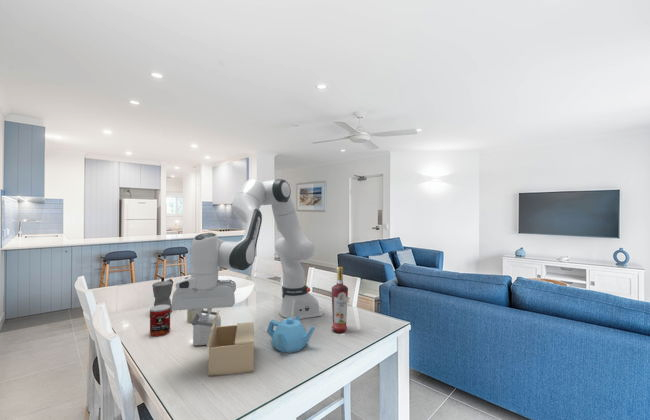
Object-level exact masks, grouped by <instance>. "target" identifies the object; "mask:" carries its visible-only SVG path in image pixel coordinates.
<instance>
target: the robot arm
mask: <svg viewBox="0 0 650 420" xmlns="http://www.w3.org/2000/svg"><path fill="white" fill-rule="evenodd" d="M291 192H292V191H291V185H290V184H289V183H288V182H287V180H285V179H281V178H279V179H278V178H277V179H269V180H265V181H260V180H259V179H256V178H249V179H247V180H246V181H245V182H244V183H243V184H242V186H241V187H240V188H239V189H238V192H237V193H236V195H235V197H234V198H233V200H232V203H231V211H232V213H233V214H234V216H235V217H236V218H237V219H238V220H239V221H241V222H244V223H245V224H246V226H245V230H244V233H243V236H242V239H241V240H239V241H229V240H228V241H226V240H222V239H221V238H219V237H218V235H217V234H216V233H213V232H206V233H200V234H197V235H195V236H194V237H193V240H192V243H191V251H190V252H191V253H190V262H191V266H192V267H191V271H190V275H189V276H186V277H183V278H180V279H179V280H177V281H176V282H175V290H174V292H173V294H172V298H171V307H172V311H186V310H189V309H196V313H197V314H198V316H199V317H200V322H202V321H208V320H209V314H210V313H211V311H212V310H213V309H218V308H219V309H220V308H232V307H233V306H234V305H235V303H236V297H235V292H236V290H237V283H236V282H235V281H233V280H232V279H219V268H225V269H233V270H238V271H245V270H247V269H249V267H251V266H252V265H253V264H254V262H255V258H256V248H257V243H258V239H259V236H260V231H261V226H262V223H263V221H262V220H263V214H262V211H261V210H260V208H261V206H270V205H271V209H272V214H273V219H274V223H275V225H276V228H277V231H278V232H279V233H280V234H281V235H282V237H280V238H278V239H277V240H276V242H275V245H274V250H275V252H276V253H277V256H278V257H279V261H280V263H281V268H282V269H281V270H282V286H281V298H282V299H281V306H280V311H279V316H281V317H283V318H286V319H287V318H294V320H295V318H296V316H300V320H302V319H309V318H315V317H321V316H324V309H323V308H322V307H320V304H319V301H318V299H317V298H316V296H314V295H313V294H311V293H309V292H311V288H310V287H308V285H306V284H305V277H306V276H305V273H306V272H305V268H303V266H302V264H301V261H308V260H310V259H311V258H312V257H313V256H314V253H315V245H314V243H313V242H312V241H311V240H309V238H308V237H307V236H306V234H305V232H304V231H303V229H302V227H301V225H300V222H299V219H298V216H297V212H296V208H295V206H294V205H295V204H294V202H293V200H292V197H291ZM201 309H203V310H204V309H205V310H206V311H209V312H208V313H207V315H202V313H201V312H200V311H201ZM212 312H213V311H212Z"/></svg>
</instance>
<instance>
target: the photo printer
mask: <svg viewBox="0 0 650 420" xmlns="http://www.w3.org/2000/svg"><path fill="white" fill-rule="evenodd" d="M202 315H207V314H205V313H202ZM215 317H216V315H211V314H209V320H208V321H202V322H207V323H213V322H214V319H215ZM198 321H200V318H199V320H198ZM221 324H222V319H221V313H219V315H218V318H217V322H216V326H215V327H218V326H222V325H221ZM192 327H193V329H192V330H193V331H192V345H193V346H194V347H195V346H197V347H198V346H207V343H208V339H209V335H210V332H211V328H212V327H210V326H203V325H197V324H196V325H192ZM214 330H215V329H214ZM213 334H214V333H213ZM212 337H213V336H212ZM211 340H212V339H211ZM210 343H211V342H210Z"/></svg>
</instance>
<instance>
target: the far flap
mask: <svg viewBox="0 0 650 420" xmlns="http://www.w3.org/2000/svg"><path fill="white" fill-rule="evenodd" d="M200 312H201V313H205V314H207V313H208V312H209V311H207V309H205V310H204V309H201V311H200ZM210 314H211V315H216V317H215V319H214V322H213V323H207V322H200V321H198V320H199V318H200V317H199V316H198V314H196V315H195V317H194V319H193V321H192V323H191V325H192V326H193V325H196V324H197V325H203V326H210V327H212V328H211V332H210V335H209V339H208V343H207V345H206V348H209V346H210V342H211V339H212V336H213V333H214V329H215V326H216V322H217V318H218V315H219V314H220V311H219V310H217V311H211V313H210Z"/></svg>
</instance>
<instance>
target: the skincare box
mask: <svg viewBox="0 0 650 420" xmlns="http://www.w3.org/2000/svg"><path fill="white" fill-rule="evenodd" d="M196 314H197V313H196V309H189V310H187V317H186V318H187V319H186V321H187V322H188V323H190V324H192V321H193V319H194V317H195V315H196Z"/></svg>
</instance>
